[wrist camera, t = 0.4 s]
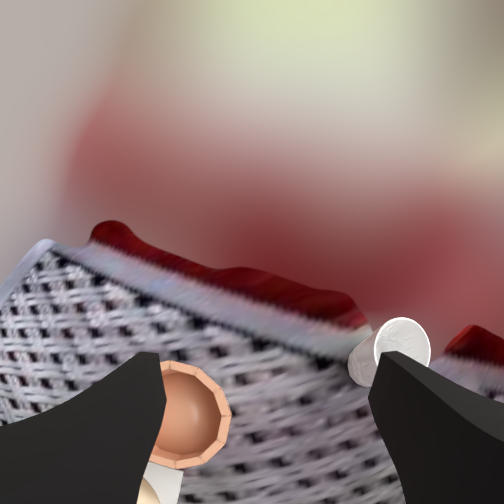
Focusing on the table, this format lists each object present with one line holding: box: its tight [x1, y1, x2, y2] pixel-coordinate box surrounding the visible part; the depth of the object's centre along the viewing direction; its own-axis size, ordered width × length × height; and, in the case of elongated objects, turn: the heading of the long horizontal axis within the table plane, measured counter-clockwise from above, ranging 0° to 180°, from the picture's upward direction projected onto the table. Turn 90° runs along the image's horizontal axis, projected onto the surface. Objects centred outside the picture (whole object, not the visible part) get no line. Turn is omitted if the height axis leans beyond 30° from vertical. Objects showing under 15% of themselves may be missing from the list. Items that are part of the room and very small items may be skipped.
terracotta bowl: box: [149, 360, 232, 469], centre depth 30 cm, size 13×13×5 cm
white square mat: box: [143, 461, 184, 504], centre depth 24 cm, size 18×18×1 cm
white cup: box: [347, 318, 430, 387], centre depth 32 cm, size 8×8×10 cm
